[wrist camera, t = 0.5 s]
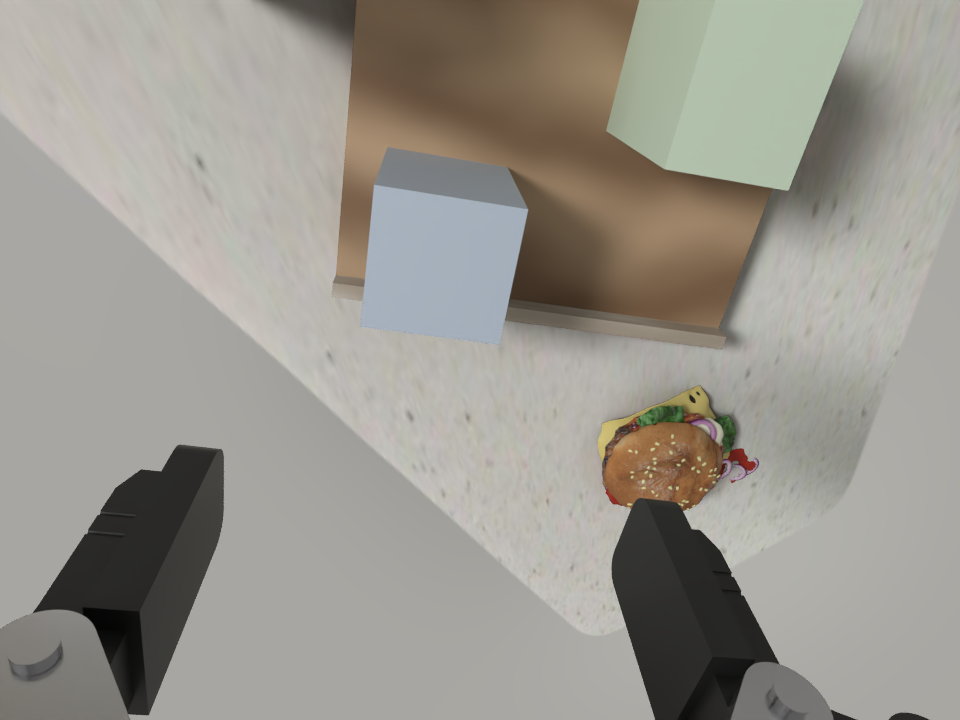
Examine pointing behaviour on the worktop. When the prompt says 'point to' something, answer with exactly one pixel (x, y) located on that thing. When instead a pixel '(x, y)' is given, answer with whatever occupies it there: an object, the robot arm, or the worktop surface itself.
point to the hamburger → (669, 452)
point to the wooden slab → (545, 162)
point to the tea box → (729, 84)
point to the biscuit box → (442, 247)
